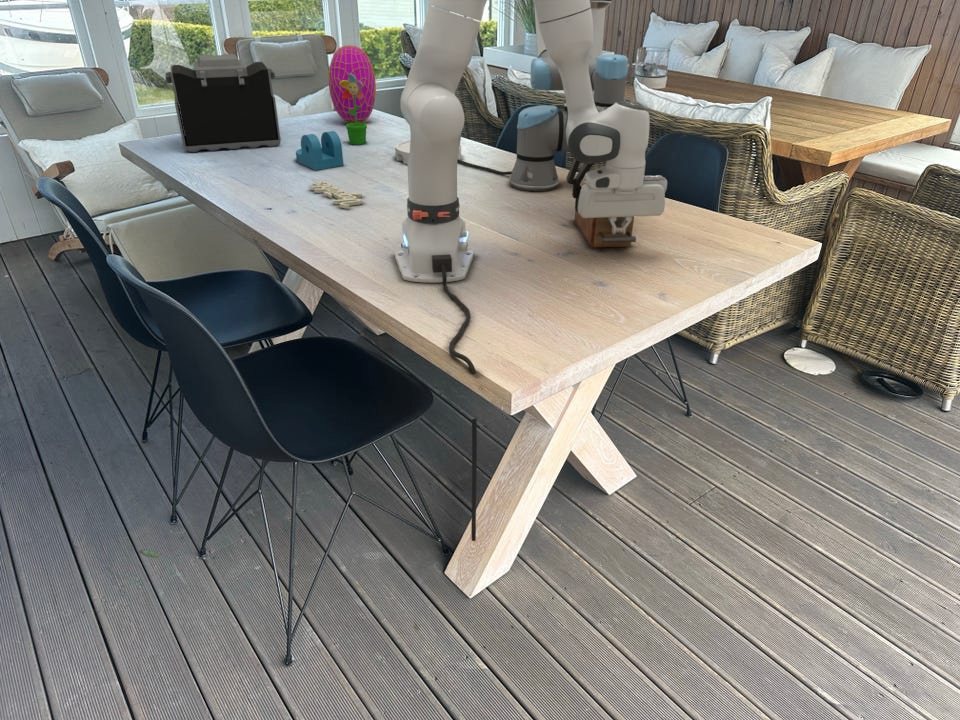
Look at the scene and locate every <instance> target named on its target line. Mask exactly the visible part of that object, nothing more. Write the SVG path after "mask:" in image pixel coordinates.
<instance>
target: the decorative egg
mask: <svg viewBox="0 0 960 720" xmlns="http://www.w3.org/2000/svg"><path fill="white" fill-rule="evenodd" d="M348 73H350V74H352V75H354V76H355V78H356V83H357V82H358V81H361V82H362V84H363V89H361V90H360V91H361V92H362V93H363V98H362V100H359V99H358V98H357V97H356V95H355V103H356V106H359V109H358V110H356V116H357V123H364V122H365V121H366V120H368V118H369V117H370V116H371V114H372V112H373V111H374V106H375V103H376V102H375V101H376V96H377V95H376V94H377V83H376V82H377V81H376V75H375V71H374V68H373V63H372V62H371V60H370V57H369V56H368V54H367V53H366V51H365V50H363V48H361V47H359V46H357V45H353V44H352V45H351V44H348V45H343V46H340V47H338V48H337V49H336V51H334V53H333V56H332V57H331V61H330V63H329V69H328V90H329V96H330V99H331V103H332V105H333V108H334V110H335V111H336V113H337V114H338V116H339V118H341V119H342V120H343V121H344V122H346V123H348V124H349V123H355V115H351V114H349V112H348V111H349V110H354V100H353V95H352V96H351V97H350V98H348V99H341V97H342V94H343V93H344V91H345V90H347V89H346V88H343V87H342V86H341V85H340V84H339V83H340V82H341V81H342V80H346V81H349V78H348Z"/></svg>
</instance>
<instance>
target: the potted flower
mask: <svg viewBox="0 0 960 720" xmlns="http://www.w3.org/2000/svg"><path fill="white" fill-rule="evenodd" d="M348 78H349V81H346V80H342V81H341V82H340V83H339V84H340V85H341V86H342V87H343V88H346V89H347V90H345V91H344V93H343V94H342V97H341V99H348V98H350V97H351V96H352V95H353V100H354V110H349V111H348V112H349V114H351V115H355V123H349V122H348V123H347V124H346V125H345V128H346V131H347V136H348V141H349V144H352V145H363V144H366V143H367V129H368V124H367V123H366V122H365V123H364V122H361V123H357V116H356V110H358V109H359V106H356V103H355V95H356V97H357V98H358V99H359V100H362V98H363V93H362V92H361V91H360V90H361V89H363V84H362V82H361V81H358V82H357V83H356V78H355V76H354V75H352V74H350V73H348Z"/></svg>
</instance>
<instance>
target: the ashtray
mask: <svg viewBox="0 0 960 720" xmlns="http://www.w3.org/2000/svg"><path fill="white" fill-rule="evenodd" d="M410 140H411V139H408V140H404V141H399V142H398V143H396V144H395V146H394V150H395V151H394V152H395V153H394V154H395V160H396V161H397V162H403V164H404V165H408V161H409V153H410ZM461 158H462V145H461V144H460V148H459V154H458V159H459V160H462V159H461Z"/></svg>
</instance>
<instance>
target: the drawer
mask: <svg viewBox="0 0 960 720" xmlns="http://www.w3.org/2000/svg"><path fill="white" fill-rule="evenodd" d="M624 220H625V219H624V218H623V217H617V218H616V221H614V223H615V225H622V223H623V222H624ZM634 221H635V216H633V217H632V220H631V222H630V223H629V225H628V226H627V227H626V232H625V234H615V235H613V234H612V225H611V223H610V221H609V219H608V217H603V218H596V225H595V235H594V246H595V247H594V248H597V247H596V246H630V247H631V245H632V243H635V242H636V241H637V238H636V236H633V229H634V223H635V222H634Z"/></svg>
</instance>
